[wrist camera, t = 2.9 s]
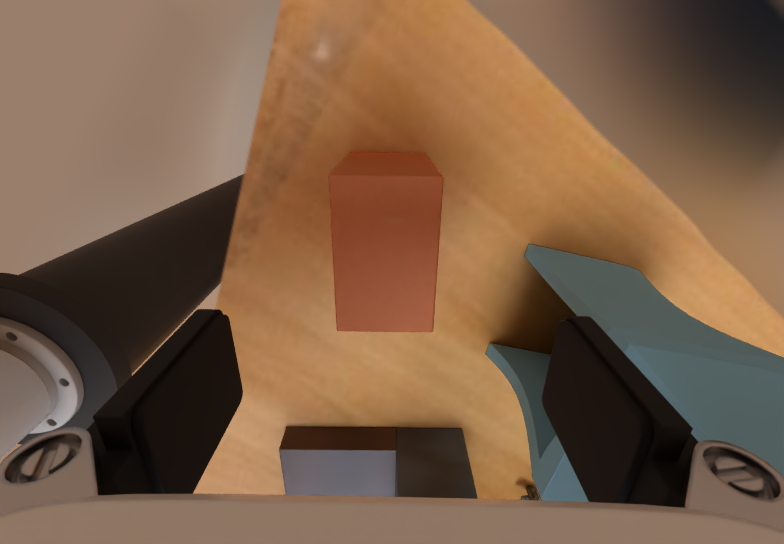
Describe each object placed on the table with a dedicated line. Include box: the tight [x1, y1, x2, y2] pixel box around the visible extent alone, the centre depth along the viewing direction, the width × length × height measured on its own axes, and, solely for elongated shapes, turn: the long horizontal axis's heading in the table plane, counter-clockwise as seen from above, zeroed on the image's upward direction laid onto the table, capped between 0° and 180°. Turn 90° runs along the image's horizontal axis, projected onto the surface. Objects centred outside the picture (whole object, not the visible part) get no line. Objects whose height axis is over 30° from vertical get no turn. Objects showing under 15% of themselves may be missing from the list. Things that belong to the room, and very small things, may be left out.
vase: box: [486, 244, 784, 502], centre depth 18 cm, size 10×10×25 cm
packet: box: [329, 152, 443, 332], centre depth 22 cm, size 5×8×9 cm, turn 179°
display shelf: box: [279, 427, 477, 499], centre depth 32 cm, size 16×12×9 cm
